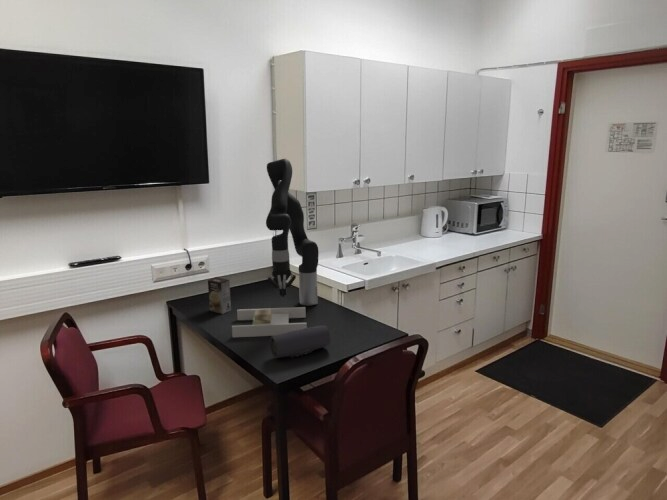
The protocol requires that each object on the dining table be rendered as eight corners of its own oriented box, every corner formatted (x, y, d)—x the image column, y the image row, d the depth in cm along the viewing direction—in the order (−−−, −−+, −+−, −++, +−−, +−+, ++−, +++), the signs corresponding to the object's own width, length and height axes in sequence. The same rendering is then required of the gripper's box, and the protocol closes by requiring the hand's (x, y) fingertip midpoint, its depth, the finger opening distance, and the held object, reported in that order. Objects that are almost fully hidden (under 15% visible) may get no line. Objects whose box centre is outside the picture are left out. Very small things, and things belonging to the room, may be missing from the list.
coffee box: (209, 310, 231) (206, 280, 227) (218, 306, 237) (216, 276, 233) (222, 314, 227) (220, 282, 223) (231, 310, 232) (229, 279, 228)
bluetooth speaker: (320, 343, 195) (320, 320, 192) (331, 351, 187) (331, 328, 184) (269, 355, 184) (268, 331, 182) (278, 365, 176) (277, 340, 174)
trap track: (305, 316, 223) (305, 306, 221) (306, 334, 203) (306, 323, 202) (237, 319, 220) (237, 309, 219) (232, 337, 201) (231, 326, 199)
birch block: (271, 317, 214) (271, 309, 213) (270, 322, 208) (270, 314, 207) (256, 318, 214) (255, 310, 213) (254, 323, 208) (254, 315, 207)
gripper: (295, 255, 208) (297, 292, 212) (265, 257, 207) (268, 294, 211) (296, 260, 201) (298, 298, 205) (265, 262, 200) (267, 300, 204)
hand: (283, 296), depth 208 cm, fingers closed
